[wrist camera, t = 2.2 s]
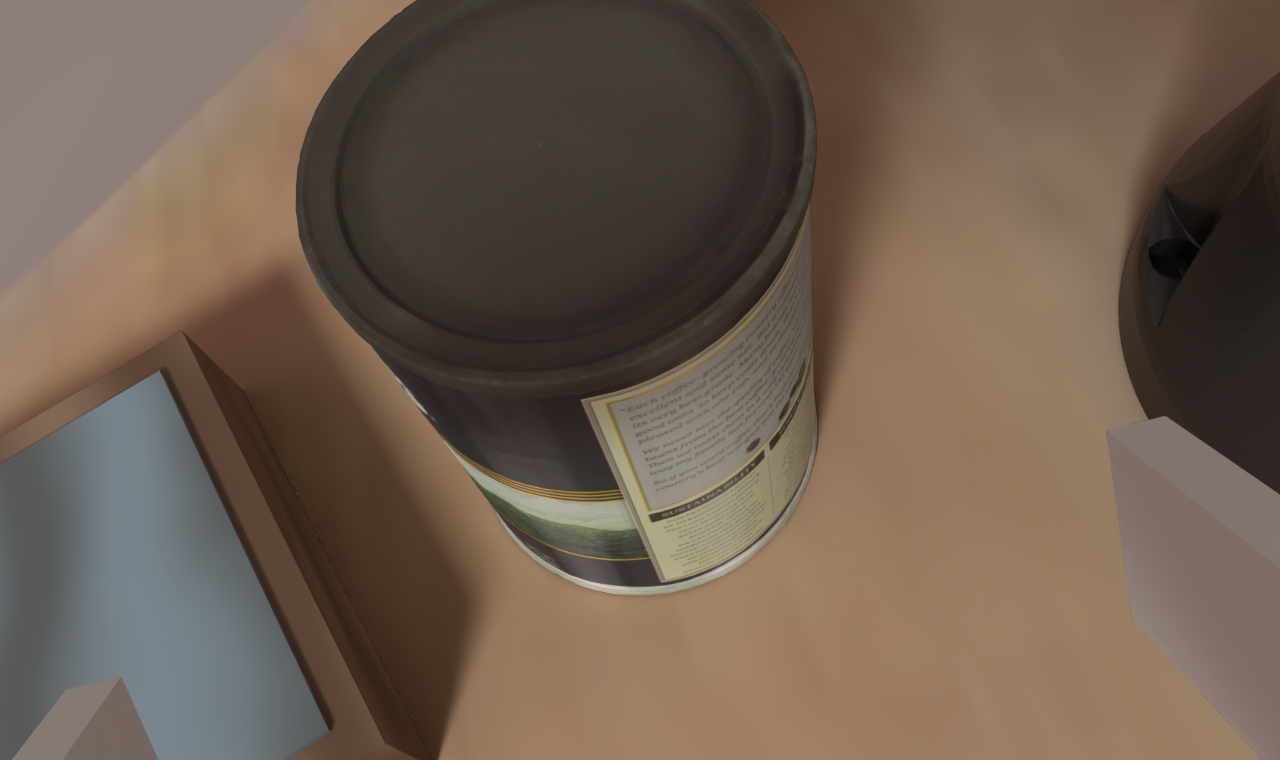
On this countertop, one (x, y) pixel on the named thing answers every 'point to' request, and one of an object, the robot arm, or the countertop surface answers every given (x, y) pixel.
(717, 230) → the coffee can
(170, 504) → the walnut tray
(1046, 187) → the countertop surface
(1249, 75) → the countertop surface
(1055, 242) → the countertop surface
